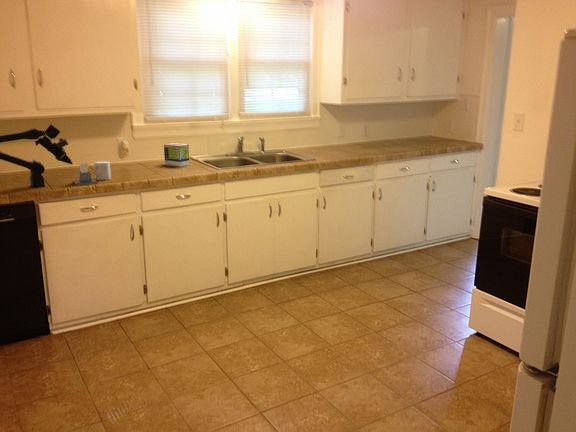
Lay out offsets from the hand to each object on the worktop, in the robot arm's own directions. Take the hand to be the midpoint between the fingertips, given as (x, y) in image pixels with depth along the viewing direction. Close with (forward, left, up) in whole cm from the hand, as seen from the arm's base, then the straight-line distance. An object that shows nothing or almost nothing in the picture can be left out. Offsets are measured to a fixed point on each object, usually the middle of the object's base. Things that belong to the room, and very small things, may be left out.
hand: (71, 162), depth 316 cm
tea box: (+79, 0, -13) cm, 80 cm away
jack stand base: (+6, -3, -13) cm, 14 cm away
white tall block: (+6, -3, -11) cm, 13 cm away
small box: (+19, -2, -13) cm, 23 cm away
